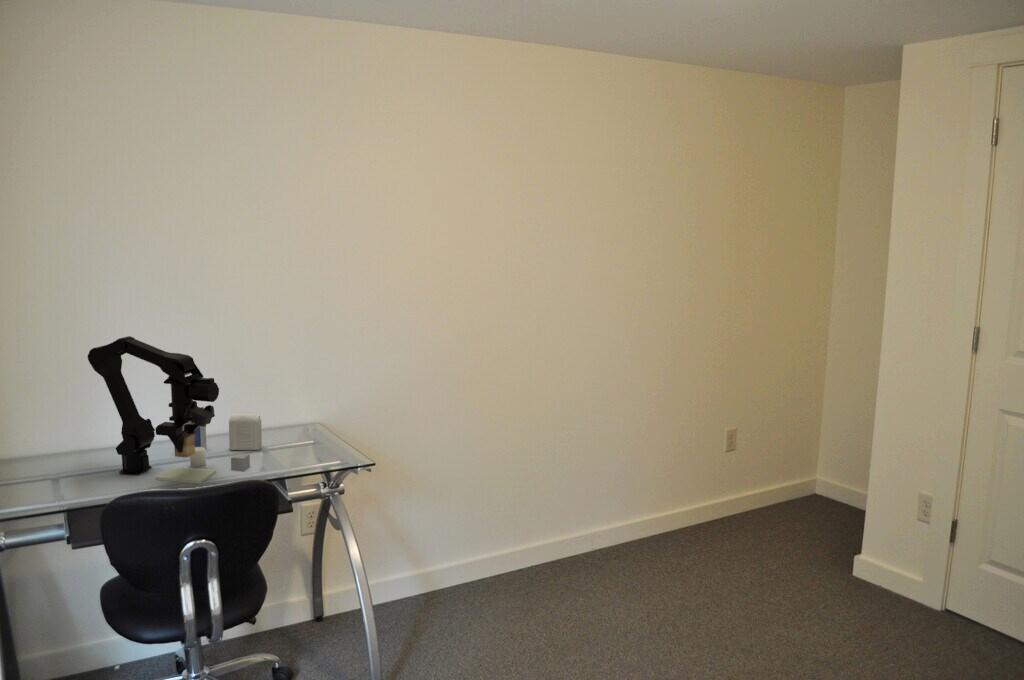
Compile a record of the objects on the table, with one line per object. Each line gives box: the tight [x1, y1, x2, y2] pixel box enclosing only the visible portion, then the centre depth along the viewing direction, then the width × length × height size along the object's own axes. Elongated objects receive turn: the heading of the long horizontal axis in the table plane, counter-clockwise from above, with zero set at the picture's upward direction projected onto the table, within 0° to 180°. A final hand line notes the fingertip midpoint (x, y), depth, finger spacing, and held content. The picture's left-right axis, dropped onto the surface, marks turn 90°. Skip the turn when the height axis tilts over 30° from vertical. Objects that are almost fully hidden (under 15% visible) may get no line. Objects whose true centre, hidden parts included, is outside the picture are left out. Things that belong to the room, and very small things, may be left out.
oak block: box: [173, 433, 195, 458], centre depth 222 cm, size 4×4×6 cm
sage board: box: [154, 466, 217, 484], centre depth 223 cm, size 14×9×1 cm, turn 82°
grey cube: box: [230, 453, 251, 472], centre depth 231 cm, size 4×4×4 cm
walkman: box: [194, 425, 208, 451], centre depth 244 cm, size 8×3×12 cm, turn 125°
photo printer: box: [228, 412, 263, 451], centre depth 248 cm, size 10×4×12 cm, turn 98°
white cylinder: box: [189, 447, 207, 468], centre depth 233 cm, size 4×4×5 cm
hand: (184, 450), depth 222 cm, fingers closed on oak block, 4 cm apart
